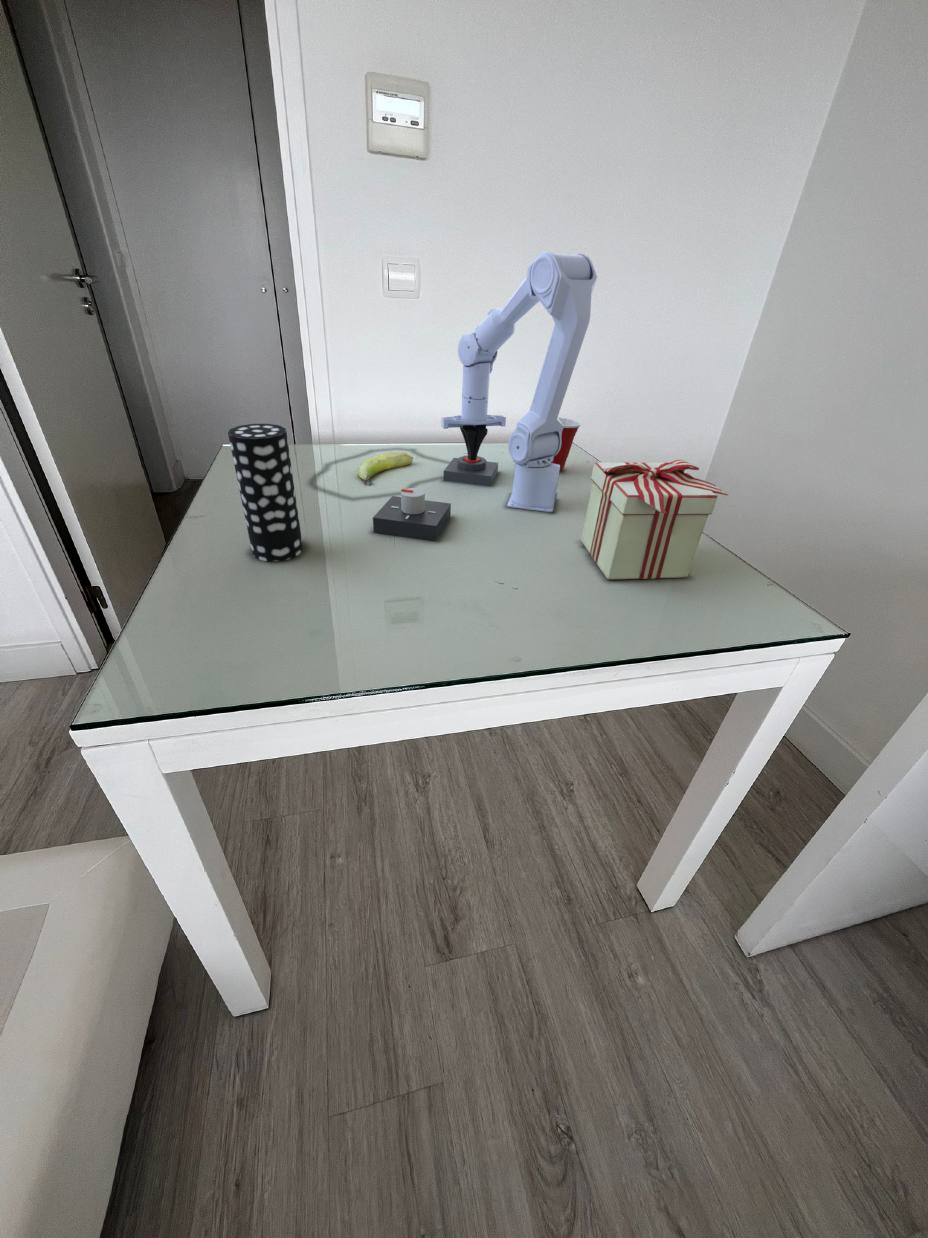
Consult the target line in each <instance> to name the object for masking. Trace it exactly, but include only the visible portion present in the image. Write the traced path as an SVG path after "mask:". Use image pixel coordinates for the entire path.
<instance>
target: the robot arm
mask: <svg viewBox="0 0 928 1238" xmlns="http://www.w3.org/2000/svg"><path fill="white" fill-rule="evenodd" d="M526 269H527V270H526V277H525V278H524V280H523V281H522V282H521V283H520V284H519V286H518V287H517V289H516V290H515V292H514V293H513V294H512V295H511V296H510V298H509V299H508V301H507V302H506V303H505V304H504V306H503V307H502V308H501V307H496V308H491V309H490V310H489V311H488V312H487V317H485V318H484V320H483V321H482V322H481V323H480V324H479V325H477V326H476V328H475V330H474V331H473V332H471V333H464V334H463V335H461V338H460V339H459V342H458V345H457V354H458V358H459V359H458V360H459V361H460V362H461V364H462V385H461V386H462V390H461V391H462V392H461V411H460V413H461V414H460V415H454V416H446V417H441V419H440V420H441V422H440V423H441V425H440V426H441V428H442V429H444V430H447V429H450V428H451V429H452V428H459V430H460V432H461V435H462V437H463V440H464V443H465V447H466V451H467V456H468V458H469V459H470V460H476V458H477V456H478V453H479V450H480V449H481V446H482V444H483V442H484V441H485V438H486V436H487V435H488V432H489V429H488V428H487V427H506V423H507V422H506V421H507V417H506V416H505V415H497V414H495V415H493V414H488V409H489V394H490V393H489V392H490V376H491V374H492V371H493V366H494V363H495V362H496V360H497V357H498V353H499V352H498V351H499V349H501V347H502V346H503V345H504V344H505V343H506V342H507V341H508V340H509V339H511V337H512V336H513V335H514V334H515V331H516V323H517V322H518V321H520V319H521V318H523V317H524V316H525V315H526V314H528V312H529V311H530V310H532V308H533V307H535V306H536V305H537V304H538V303H539V302H540V303H541V305H542V306H543V307H544V309H545V310H546V312H547V313H548V315H550V316H551V317H552V320H553V322H554V326H553V329H552V333H551V336H550V340H549V343H548V346H547V349H546V350H547V351H546V354H545V357H544V359H543V364H542V367H541V369H540V374H539V377H538V380H537V385H536V387H535V391H534V394H533V398H532V401H531V405H530V407H529V408H530V409H529V411H528V412H527V413H526V414H525V415H523V417H522V418H521V419H519V420H518V421H517V424H516V428H515V429H514V431H513V432H512V433H511V435H510V436H509V439H508V444H507V445H508V452H509V455H510V457H511V459H512V462H513V463H514V472H513V481H512V489H511V490H512V492H511V495H510V497H509V499H508V502H507V505H506V506H507V507H508V508H514V509H522V510H528V511H529V510H530V511H537V512H544V513H553V512H554V507H555V503H556V501H557V499H558V495H559V493H558V492H559V491H558V485H559V478H560V472H559V471H560V465H558V464H553V463H551V462H553V458H554V456H555V455H556V454H557V453H558V452H559V451H560V448H561V443H562V441H561V435H562V431H563V428H564V426H563V424H562V423H561V421H560V420H559V419H558V418H557V417H559V415H560V411H561V408H562V405H563V402H564V399H565V397H566V394H567V390H568V388H569V384H570V381H571V378H572V375H573V372H574V369H575V366H576V364H577V360H578V357H579V354H580V351H581V348H582V345H583V342H584V339H585V337H586V334H587V331H588V328H589V326H590V325H589V324H590V320H591V309H592V295H593V292H594V289H595V286H596V282H597V279H598V275H597V272H596V269H595V267H594V264H593V261H592V260H591V258H590V257H589V256H588V255H586V254H585V253H578V254H570V253H569V254H568V253H554V252H550V251H544V252H543V251H542V252H541V253H540V254H538V255H537V256H536V258H535V259H534V261H533V262H532V263H531V264H529V266H528V267H527V268H526Z"/></svg>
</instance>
